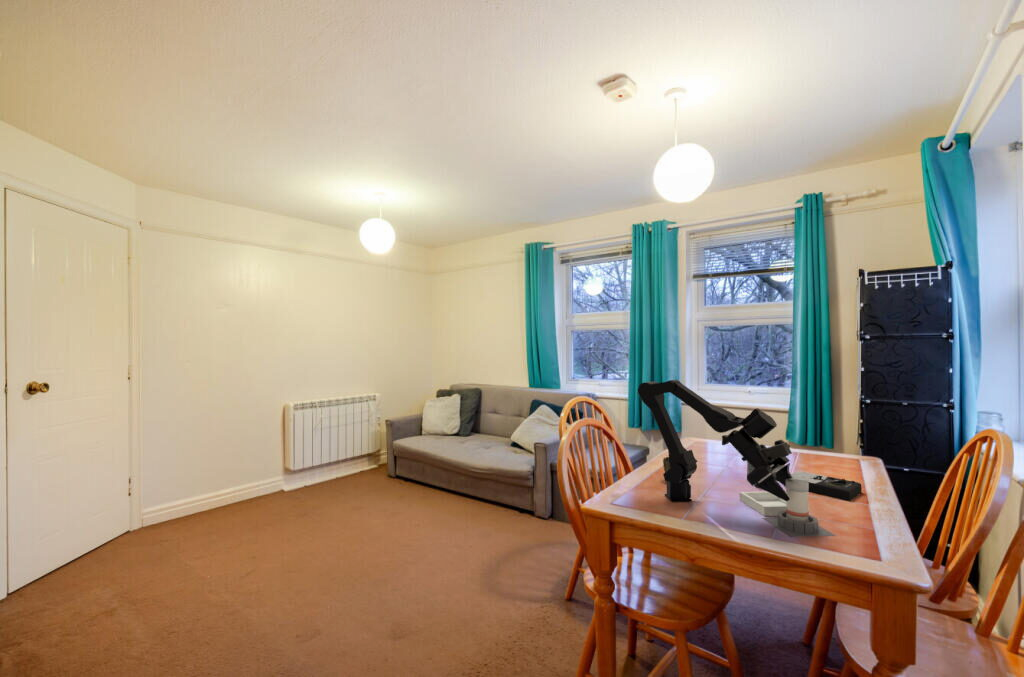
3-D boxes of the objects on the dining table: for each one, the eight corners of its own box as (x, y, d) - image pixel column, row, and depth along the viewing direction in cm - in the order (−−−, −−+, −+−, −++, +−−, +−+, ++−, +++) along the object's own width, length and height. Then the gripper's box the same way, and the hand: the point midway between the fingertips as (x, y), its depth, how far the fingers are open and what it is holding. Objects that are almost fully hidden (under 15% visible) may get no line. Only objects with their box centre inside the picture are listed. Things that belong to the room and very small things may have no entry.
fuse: (794, 530, 116) (794, 484, 116) (781, 522, 121) (781, 478, 121) (813, 530, 116) (813, 484, 116) (800, 522, 121) (799, 478, 121)
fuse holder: (790, 540, 112) (790, 526, 112) (762, 521, 124) (761, 509, 124) (836, 539, 113) (836, 525, 113) (803, 520, 125) (803, 508, 125)
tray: (764, 519, 126) (764, 506, 126) (739, 503, 138) (739, 492, 138) (807, 518, 126) (807, 506, 126) (778, 502, 139) (778, 491, 139)
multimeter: (849, 502, 140) (849, 487, 140) (783, 487, 155) (782, 473, 155) (862, 494, 148) (862, 479, 148) (797, 480, 163) (797, 466, 163)
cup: (682, 485, 156) (682, 463, 156) (660, 482, 159) (660, 460, 160) (686, 480, 162) (686, 458, 162) (665, 477, 166) (665, 455, 166)
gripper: (758, 436, 117) (808, 487, 109) (780, 426, 130) (826, 472, 121) (728, 460, 122) (773, 511, 114) (752, 449, 135) (794, 494, 127)
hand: (793, 496), depth 119 cm, fingers open, 9 cm apart
